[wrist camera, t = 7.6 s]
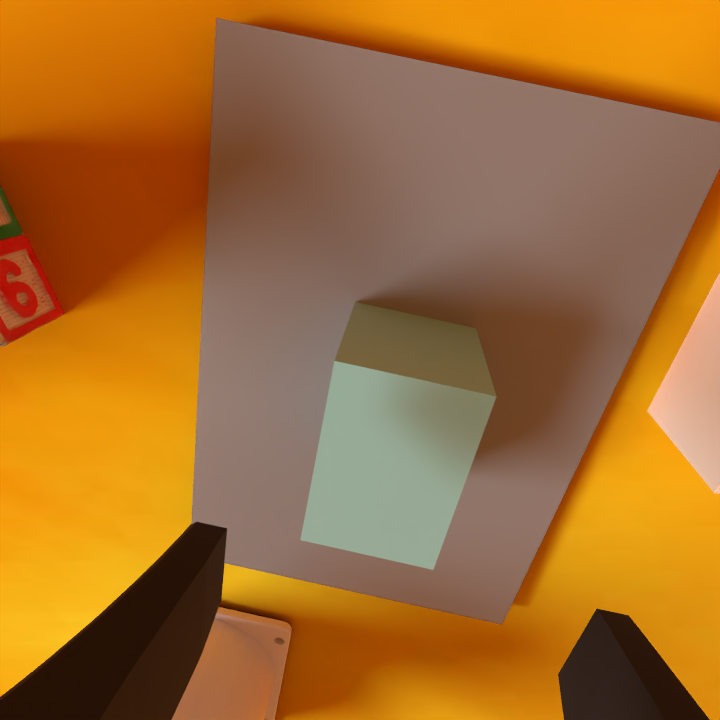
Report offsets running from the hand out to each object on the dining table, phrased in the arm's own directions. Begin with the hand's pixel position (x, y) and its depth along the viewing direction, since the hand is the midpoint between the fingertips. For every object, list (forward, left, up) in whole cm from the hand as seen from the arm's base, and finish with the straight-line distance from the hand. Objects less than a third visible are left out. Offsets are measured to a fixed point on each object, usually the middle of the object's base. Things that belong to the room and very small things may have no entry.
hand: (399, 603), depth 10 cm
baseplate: (0, 0, -9) cm, 9 cm away
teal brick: (0, 0, -8) cm, 8 cm away
